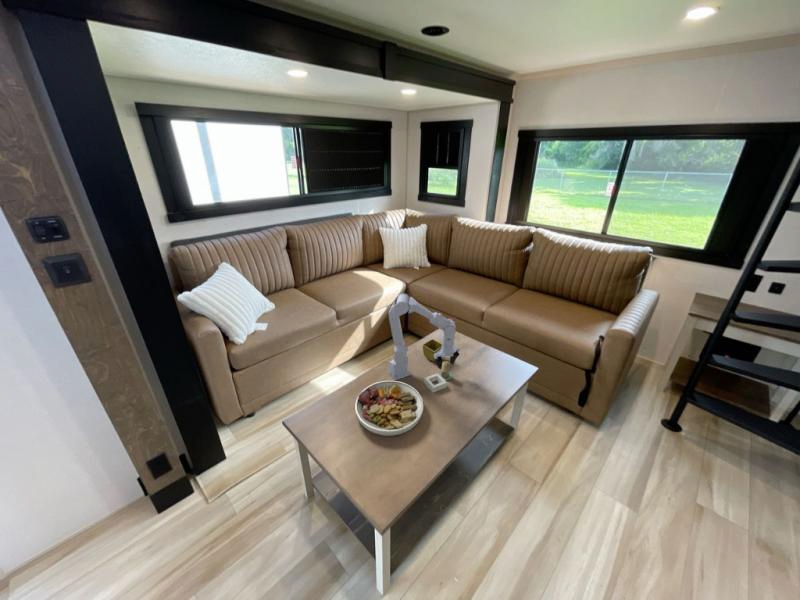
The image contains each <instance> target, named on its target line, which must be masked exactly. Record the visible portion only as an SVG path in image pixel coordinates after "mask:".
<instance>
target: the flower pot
mask: <svg viewBox="0 0 800 600" xmlns="http://www.w3.org/2000/svg"><path fill="white" fill-rule="evenodd" d="M441 349H442V342H439V341H437V340H435V339H434V338H431V339H430V340H428V341H427V342H424V343H423V344H422V352H423V356H424V357H425V358H426V359H428V360H429V361H431V362H434V361H436V359H435V358H434V354H435V353H437V352H438V351H439V350H441Z"/></svg>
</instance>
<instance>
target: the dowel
mask: <svg viewBox="0 0 800 600" xmlns="http://www.w3.org/2000/svg"><path fill="white" fill-rule="evenodd" d="M450 370H451V363H450V361H447V360H445V361H443V363H442V368H441V372H440V373H441V377H442V378H445V379H447V378H449V374H450Z"/></svg>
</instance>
